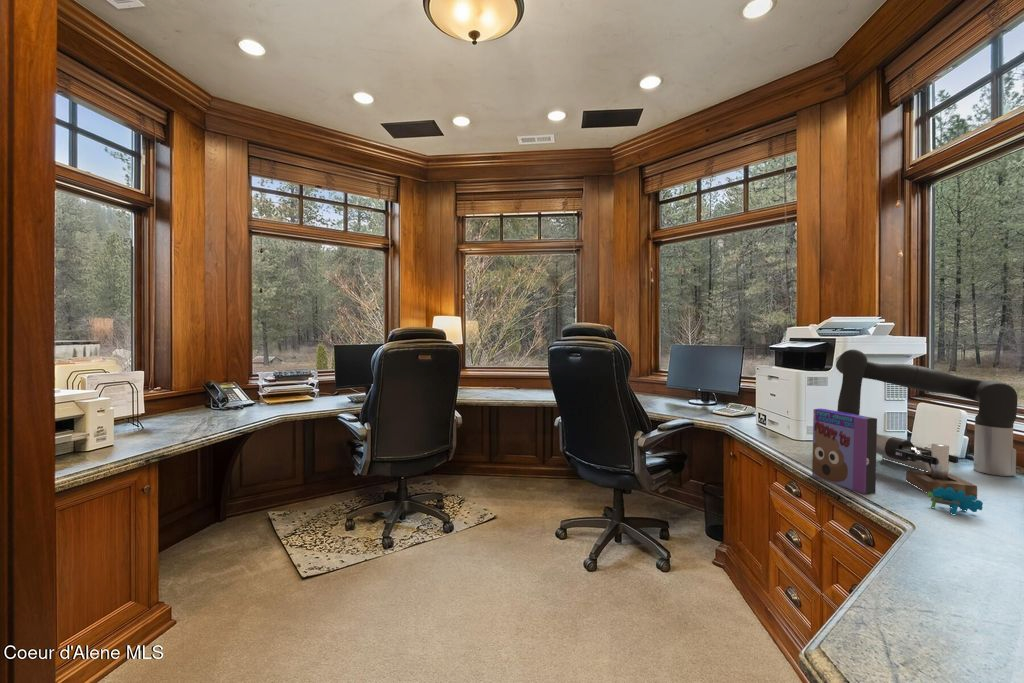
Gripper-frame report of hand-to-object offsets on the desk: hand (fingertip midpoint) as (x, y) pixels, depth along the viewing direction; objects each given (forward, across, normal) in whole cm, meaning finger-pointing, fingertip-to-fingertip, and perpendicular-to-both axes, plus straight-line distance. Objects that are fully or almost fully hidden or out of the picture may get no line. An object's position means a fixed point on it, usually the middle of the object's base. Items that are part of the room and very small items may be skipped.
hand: (947, 460), depth 134 cm
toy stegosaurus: (+12, -16, +10) cm, 23 cm away
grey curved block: (-23, +18, +10) cm, 31 cm away
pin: (-2, 0, +10) cm, 10 cm away
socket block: (-2, 0, +10) cm, 10 cm away
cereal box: (-12, -26, +10) cm, 31 cm away
